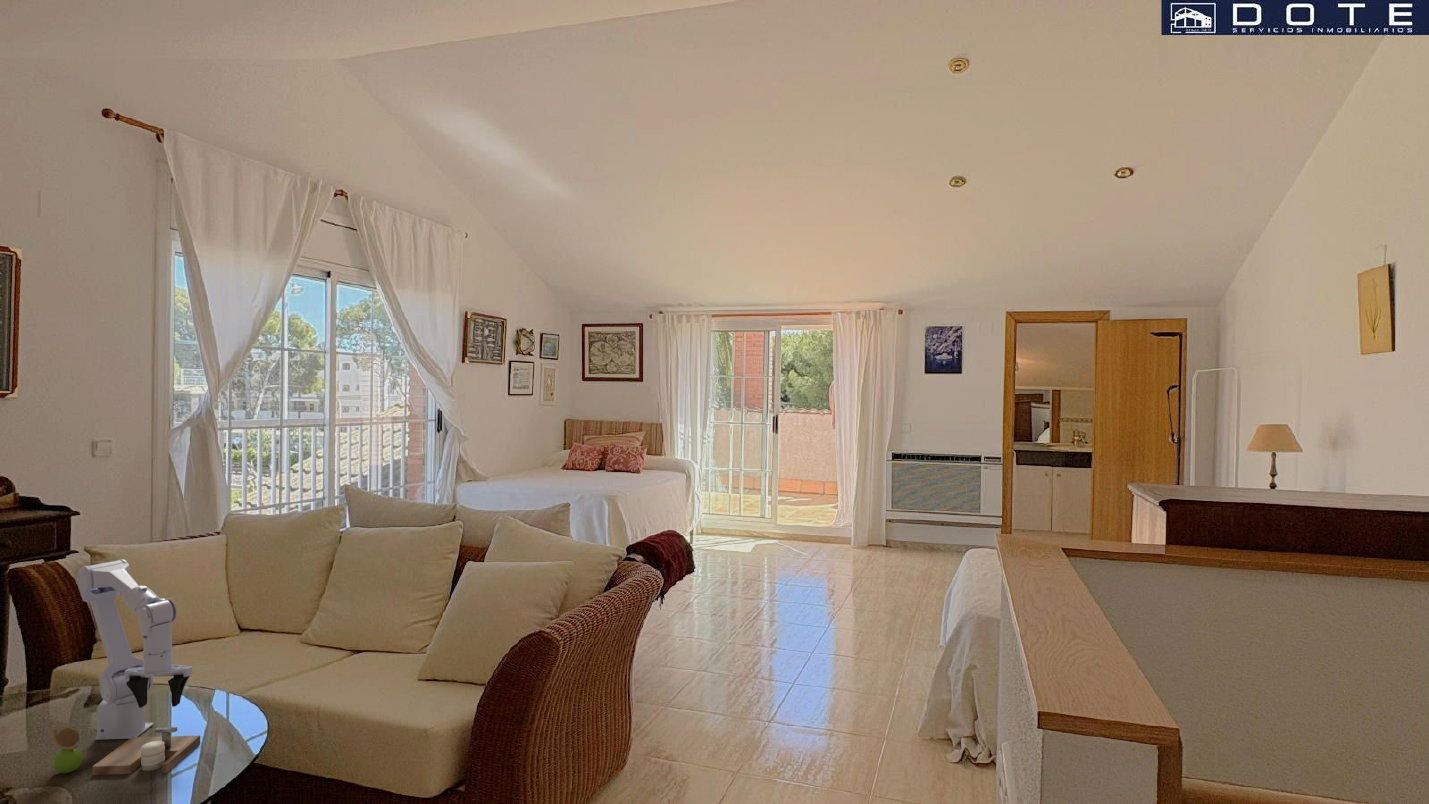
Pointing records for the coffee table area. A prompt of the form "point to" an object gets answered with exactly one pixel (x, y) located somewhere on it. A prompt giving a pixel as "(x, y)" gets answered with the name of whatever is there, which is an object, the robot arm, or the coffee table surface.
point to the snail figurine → (66, 749)
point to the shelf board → (130, 755)
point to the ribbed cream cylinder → (152, 755)
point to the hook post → (166, 735)
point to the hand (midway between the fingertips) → (159, 705)
